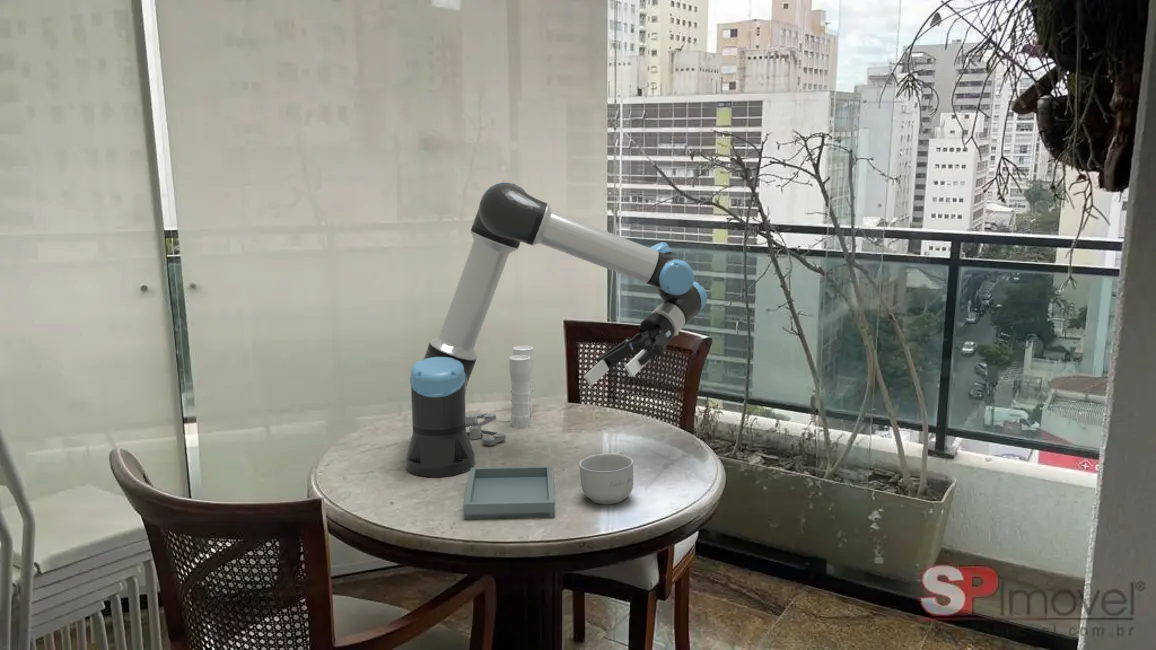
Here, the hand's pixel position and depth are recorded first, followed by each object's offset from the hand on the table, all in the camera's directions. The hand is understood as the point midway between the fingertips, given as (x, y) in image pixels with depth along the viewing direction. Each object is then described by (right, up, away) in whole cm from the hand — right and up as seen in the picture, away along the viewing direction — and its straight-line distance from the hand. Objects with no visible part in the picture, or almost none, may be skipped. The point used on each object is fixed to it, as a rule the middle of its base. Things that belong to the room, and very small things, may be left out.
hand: (607, 376), depth 179 cm
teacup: (0, -24, -10) cm, 26 cm away
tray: (-20, -24, -11) cm, 33 cm away
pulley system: (-33, -17, +32) cm, 49 cm away
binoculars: (-21, -14, +43) cm, 50 cm away
